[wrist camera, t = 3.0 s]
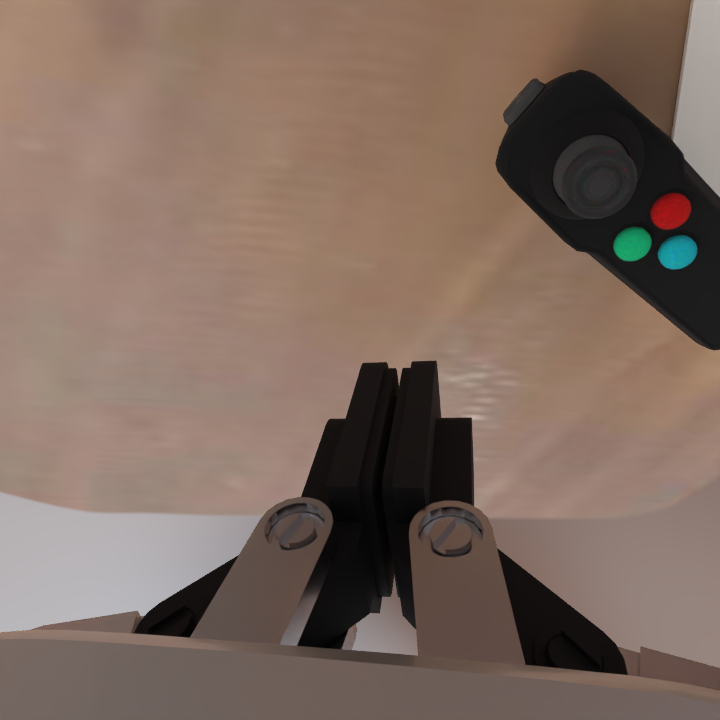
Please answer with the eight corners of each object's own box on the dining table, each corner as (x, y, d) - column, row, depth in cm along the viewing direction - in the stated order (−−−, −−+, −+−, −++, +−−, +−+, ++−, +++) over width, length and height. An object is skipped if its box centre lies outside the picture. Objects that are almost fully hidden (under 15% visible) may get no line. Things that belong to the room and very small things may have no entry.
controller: (545, 33, 23) (594, 51, 14) (737, 223, 26) (871, 331, 17) (471, 121, 25) (477, 182, 17) (655, 288, 28) (739, 411, 19)
